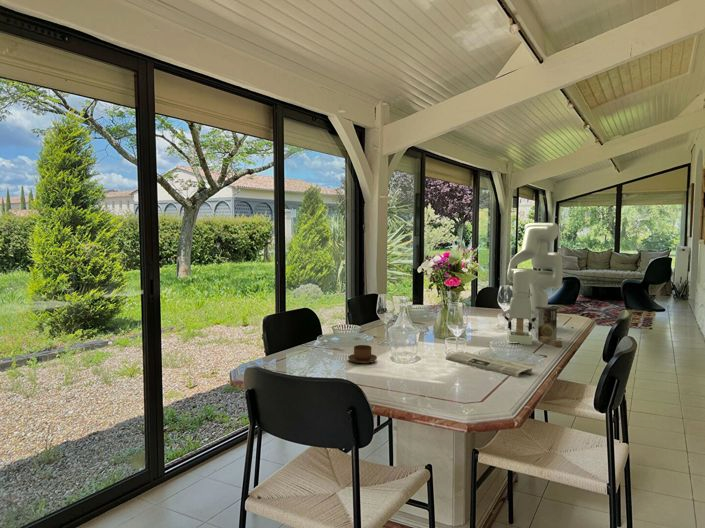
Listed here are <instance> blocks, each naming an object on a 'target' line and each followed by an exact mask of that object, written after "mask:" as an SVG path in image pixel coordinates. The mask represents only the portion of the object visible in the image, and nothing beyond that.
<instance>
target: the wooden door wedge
mask: <svg viewBox="0 0 705 528" xmlns="http://www.w3.org/2000/svg"><path fill="white" fill-rule="evenodd" d="M538 341H539V343H541V344H544V345H548V346H550V347H554V348H562V347H563V341H562V340H558V339H557V338H556V339H553V338H549V337H546V336H540V340H538Z"/></svg>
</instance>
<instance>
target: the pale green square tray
mask: <svg viewBox="0 0 705 528" xmlns="http://www.w3.org/2000/svg"><path fill="white" fill-rule="evenodd" d="M508 340H509V341H510V342H517V343H520V344H519V345H525V346H527V345H529V346H531V345H533V336H532V333H531V331H523V335H516V330H514V331H513V330H507V341H508Z"/></svg>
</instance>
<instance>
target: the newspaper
mask: <svg viewBox="0 0 705 528" xmlns="http://www.w3.org/2000/svg"><path fill="white" fill-rule="evenodd" d="M479 355H480V354H477V353H471V352H467V351H465V352H463V351H457V352H453V353H450V354H448V355H446V356H445V360H448V361H451V362H455V363H459V364H464V365H467V366H472V367H476V368H479V369H483V370H486V371H487V370H488V371H492V372H496V373H499V374H502V375H508V376H512V377H514V378H515V377H516V378H519V377H520V376H521V375H522V374H521V373H523V372H524V373H530V374H531V373H532V371H533V369H534V368H535V367H536V364H532V363H525V362H517V361H511V360H501V359H497V358H492V357H488V356H484V355H480V356H479ZM482 356H483V357H482Z"/></svg>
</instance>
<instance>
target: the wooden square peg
mask: <svg viewBox="0 0 705 528" xmlns="http://www.w3.org/2000/svg"><path fill="white" fill-rule="evenodd" d="M515 319H516V322H515V326H516V327H515V331H516V335H523V332H524V319H519V318H515Z"/></svg>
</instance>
